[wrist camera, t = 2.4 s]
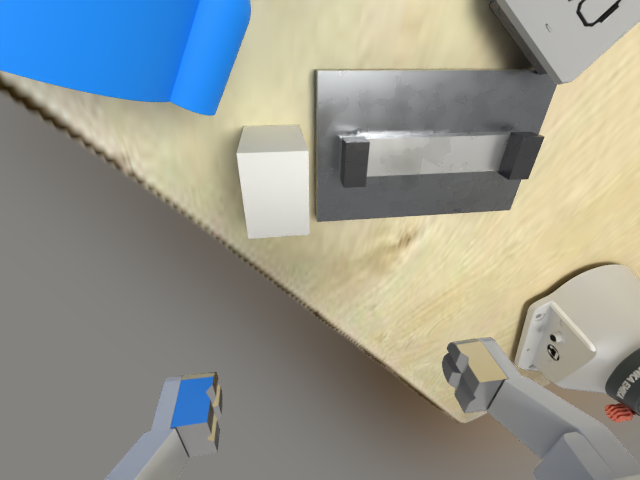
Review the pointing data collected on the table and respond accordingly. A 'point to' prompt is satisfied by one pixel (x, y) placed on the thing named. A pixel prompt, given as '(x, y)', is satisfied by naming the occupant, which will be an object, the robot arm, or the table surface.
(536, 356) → the robot arm
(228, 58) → the tube
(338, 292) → the table surface
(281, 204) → the din module
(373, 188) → the din board
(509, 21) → the electrical switch
